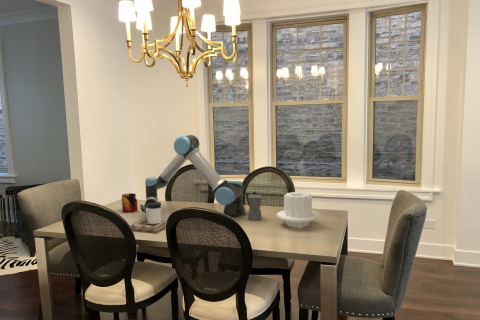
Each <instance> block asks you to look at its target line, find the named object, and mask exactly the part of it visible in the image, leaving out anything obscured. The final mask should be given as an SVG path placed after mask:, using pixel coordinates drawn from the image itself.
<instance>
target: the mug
mask: <svg viewBox="0 0 480 320" xmlns="http://www.w3.org/2000/svg"><path fill="white" fill-rule="evenodd" d="M136 196H137V195H136V193H131V192H130V193H124V194H122V195H121V206H122V207H121V209H122V213H125V214H129V213H130V214H131V213H135V212H138V210H139V208H138V199H137V197H136Z"/></svg>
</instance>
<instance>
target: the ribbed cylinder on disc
mask: <svg viewBox="0 0 480 320" xmlns="http://www.w3.org/2000/svg"><path fill="white" fill-rule="evenodd" d="M312 201H313V196H312V194H310V193H308V192H303V191H302V192H301V191H292V192H287V193H285V194H284V195H283V210H280V211H278V212H277V214H276V216H277V217H276V218H278V219H279V220H282V221H286V226H287V227H291V228H295V229H303V228H305V227H307V226H309V225H310V222H313V221H316V220H318V219H320V213H319V212H318V211H314V210H313V209H312V208H313V206H312V205H313V202H312Z"/></svg>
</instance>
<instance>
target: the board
mask: <svg viewBox="0 0 480 320" xmlns="http://www.w3.org/2000/svg"><path fill="white" fill-rule="evenodd" d="M167 220H168V219H163V218H162V222H161V223H159V224H148V219H147V217H146V218H142V219H141V220H139V221H137V222H135V223H133V224H131V225H129V226H130V227H131V229H132V230H133V231H132V232H138V233H148V234H149V233H150V234H159V233H160V232H163V231H164V230H166V229H165V227H166V222H167Z"/></svg>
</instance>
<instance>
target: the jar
mask: <svg viewBox="0 0 480 320" xmlns="http://www.w3.org/2000/svg"><path fill="white" fill-rule="evenodd" d="M162 209H163V208H162V203H161V202H160V201H157V202H150V203H148V204H147V215H146V218H147V219H148V224H159V223H161V222H162V219H163V210H162Z"/></svg>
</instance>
